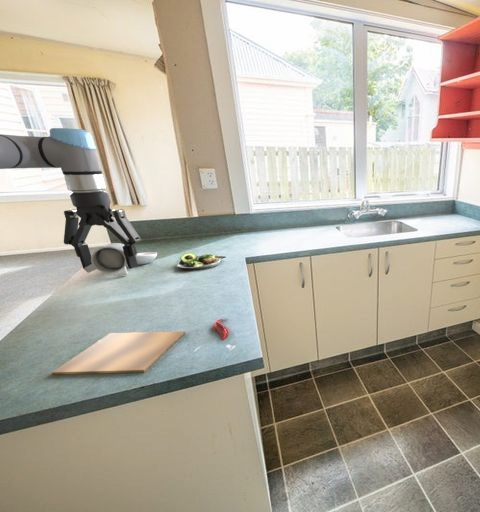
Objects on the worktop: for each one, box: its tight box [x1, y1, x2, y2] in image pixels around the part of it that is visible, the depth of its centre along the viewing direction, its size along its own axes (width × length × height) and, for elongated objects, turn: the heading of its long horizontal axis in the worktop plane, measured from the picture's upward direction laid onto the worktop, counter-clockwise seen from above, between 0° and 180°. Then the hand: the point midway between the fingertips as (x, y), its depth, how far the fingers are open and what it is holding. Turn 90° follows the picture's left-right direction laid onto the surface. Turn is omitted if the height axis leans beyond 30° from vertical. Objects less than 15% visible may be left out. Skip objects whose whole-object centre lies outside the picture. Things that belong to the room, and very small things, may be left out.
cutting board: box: [51, 330, 186, 376], centre depth 74 cm, size 20×16×1 cm
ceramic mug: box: [83, 242, 128, 274], centre depth 85 cm, size 11×8×8 cm
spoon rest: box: [113, 251, 158, 277], centre depth 131 cm, size 24×12×7 cm, turn 15°
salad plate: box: [177, 252, 228, 272], centre depth 136 cm, size 19×18×5 cm
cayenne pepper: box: [212, 318, 230, 341], centre depth 84 cm, size 12×5×2 cm, turn 22°
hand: (111, 267), depth 86 cm, fingers closed on ceramic mug, 11 cm apart
